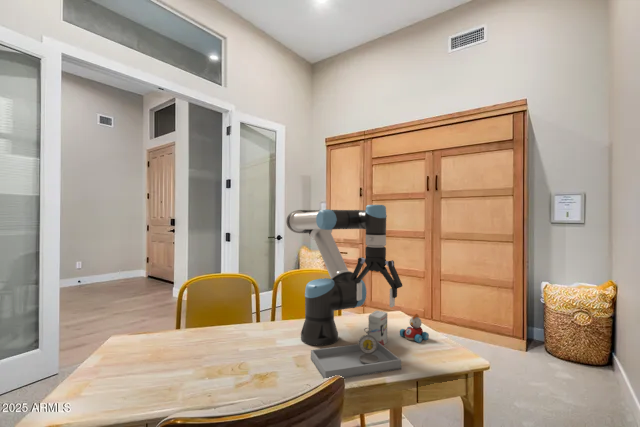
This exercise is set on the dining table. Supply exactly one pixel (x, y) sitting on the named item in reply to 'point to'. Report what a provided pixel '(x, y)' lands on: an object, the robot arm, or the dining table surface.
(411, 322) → the toy car
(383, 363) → the tray
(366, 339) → the pocket watch
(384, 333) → the ink box
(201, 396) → the dining table surface
